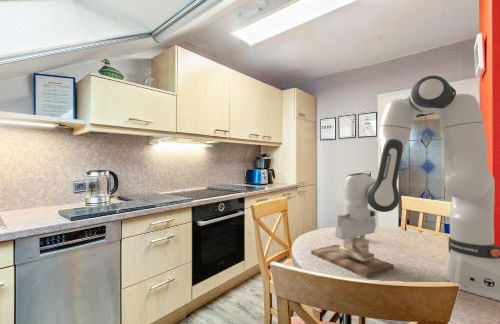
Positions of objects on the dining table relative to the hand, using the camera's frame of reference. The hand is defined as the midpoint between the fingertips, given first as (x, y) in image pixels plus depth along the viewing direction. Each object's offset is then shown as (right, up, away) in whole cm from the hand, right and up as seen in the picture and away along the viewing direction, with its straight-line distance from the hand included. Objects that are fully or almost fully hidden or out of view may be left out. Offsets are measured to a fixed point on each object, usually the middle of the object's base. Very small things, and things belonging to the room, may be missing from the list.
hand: (355, 246), depth 100 cm
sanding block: (0, -4, 0) cm, 4 cm away
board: (-2, -7, +3) cm, 8 cm away
